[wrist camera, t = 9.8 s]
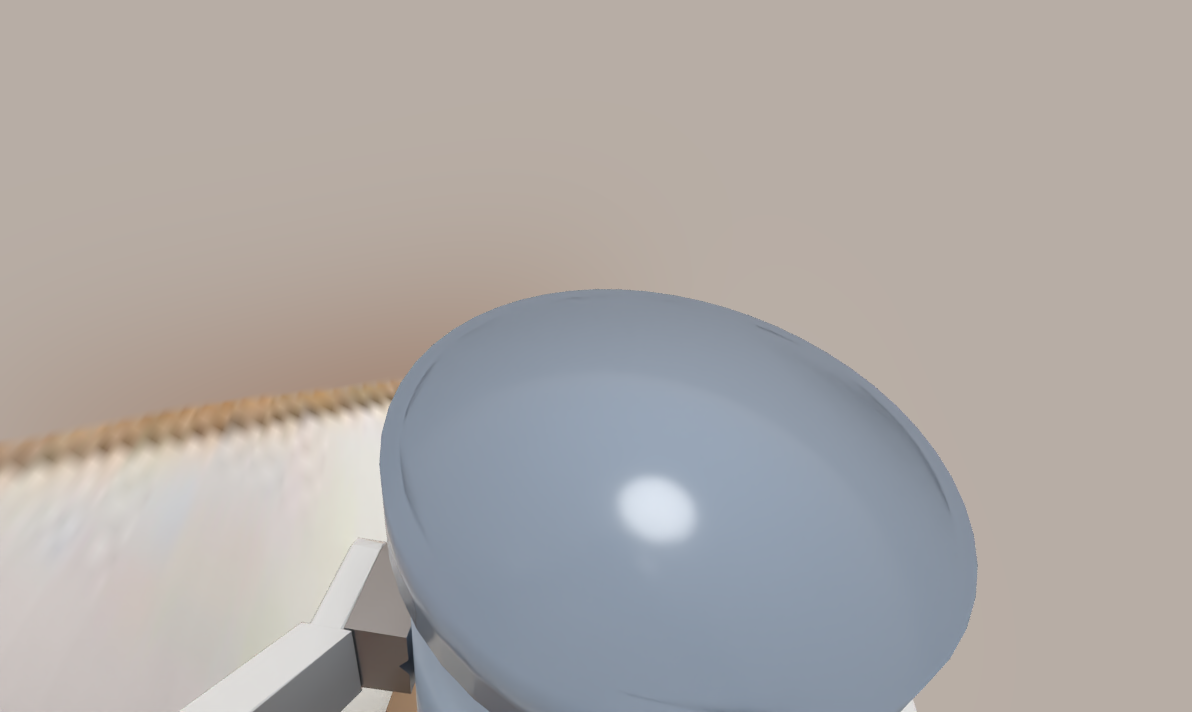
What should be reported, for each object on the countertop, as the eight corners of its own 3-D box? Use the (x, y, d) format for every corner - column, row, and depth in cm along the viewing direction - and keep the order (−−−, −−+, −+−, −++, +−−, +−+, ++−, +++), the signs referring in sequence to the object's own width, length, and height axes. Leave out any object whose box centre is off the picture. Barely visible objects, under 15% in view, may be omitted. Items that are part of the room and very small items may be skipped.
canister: (366, 981, 11) (234, 660, 4) (464, 639, 17) (473, 260, 10) (717, 1039, 11) (1133, 811, 4) (699, 678, 17) (871, 328, 10)
